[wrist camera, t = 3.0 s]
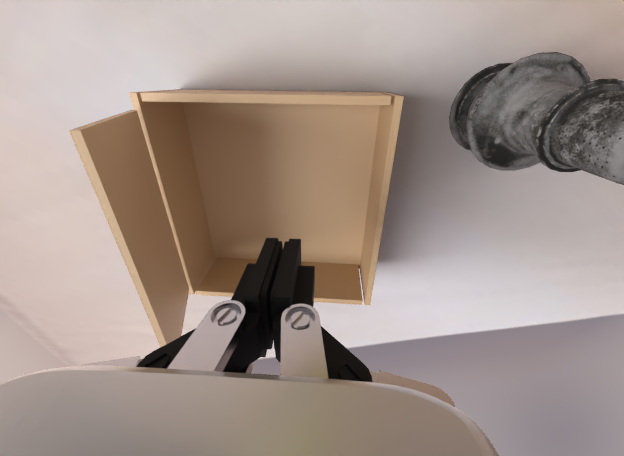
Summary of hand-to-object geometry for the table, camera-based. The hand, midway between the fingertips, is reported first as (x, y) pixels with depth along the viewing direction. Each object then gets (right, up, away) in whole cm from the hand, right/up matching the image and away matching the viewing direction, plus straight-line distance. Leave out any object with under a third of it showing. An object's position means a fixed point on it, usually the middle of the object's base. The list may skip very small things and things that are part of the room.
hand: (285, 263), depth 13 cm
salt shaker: (+13, +9, +4) cm, 17 cm away
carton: (-1, +5, +8) cm, 9 cm away
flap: (-7, +1, +1) cm, 7 cm away
